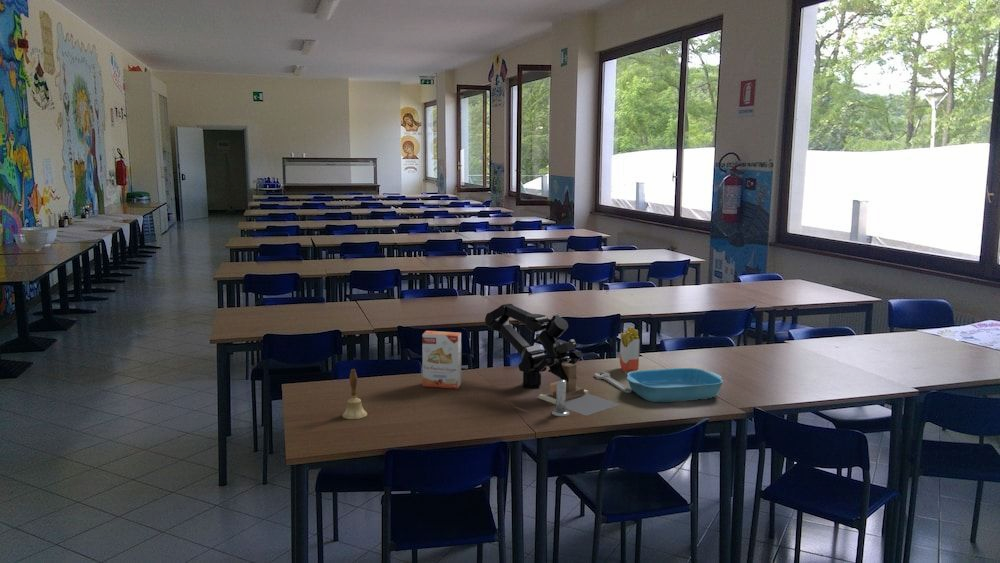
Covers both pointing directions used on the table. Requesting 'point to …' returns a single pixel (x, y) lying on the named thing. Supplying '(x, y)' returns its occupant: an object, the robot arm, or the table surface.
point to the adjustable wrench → (612, 381)
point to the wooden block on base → (571, 382)
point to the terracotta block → (553, 388)
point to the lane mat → (583, 403)
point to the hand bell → (354, 401)
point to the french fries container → (629, 350)
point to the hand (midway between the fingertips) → (571, 380)
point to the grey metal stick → (561, 399)
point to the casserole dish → (674, 384)
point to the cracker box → (441, 359)
